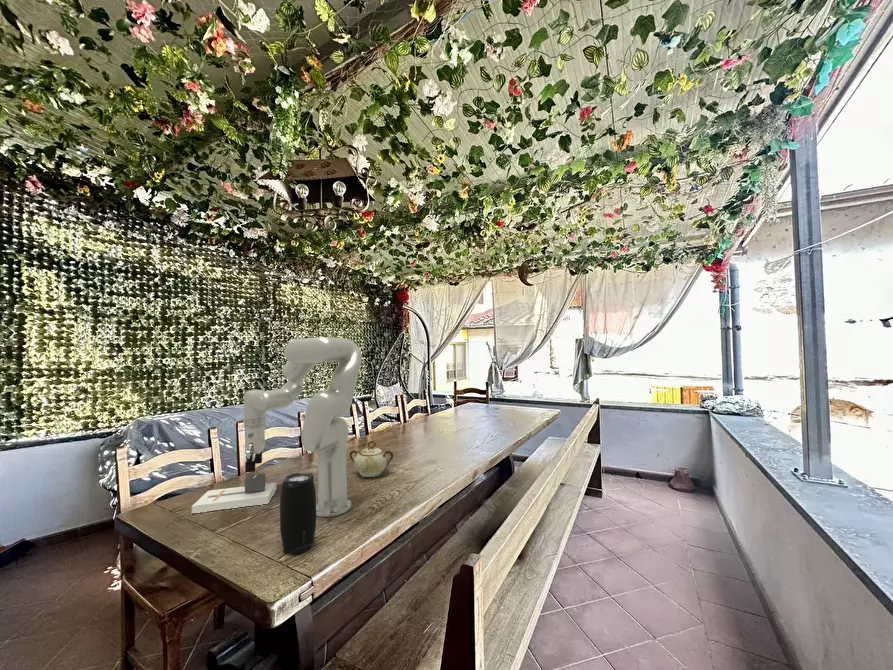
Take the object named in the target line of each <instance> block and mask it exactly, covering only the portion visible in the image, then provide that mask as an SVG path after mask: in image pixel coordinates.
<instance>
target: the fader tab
mask: <svg viewBox="0 0 893 670" xmlns="http://www.w3.org/2000/svg"><path fill="white" fill-rule="evenodd" d="M265 484H266V473H259V474H258V473H257V474H251V475H247V476H246V477H245V478H244V486H245V493H248V492H256V491H263V489H264V488H265Z"/></svg>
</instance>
